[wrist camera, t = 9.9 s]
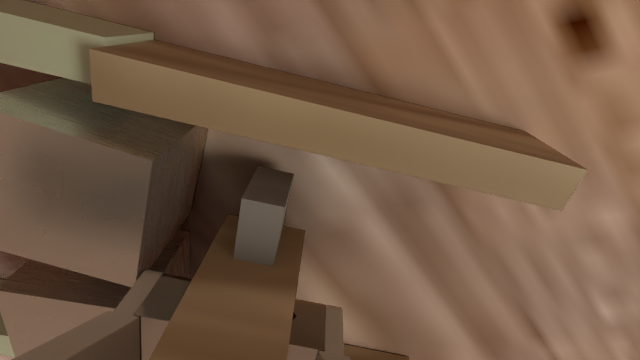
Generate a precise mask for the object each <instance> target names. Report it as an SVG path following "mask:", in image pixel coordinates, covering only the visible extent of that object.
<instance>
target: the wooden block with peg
mask: <svg viewBox="0 0 640 360" xmlns="http://www.w3.org/2000/svg"><path fill="white" fill-rule="evenodd" d="M293 176H294V174H292V173H287V172H283V171H278V170H274V169H269V168H264V167H260V166H258V167H257V169H256V171H255V173H254V175H253V177H252V179H251V181H250V183H249V185H248V187H247V189H246V191H245V193H244V194H243V196H242V199H241V206H240V213H239V217H238V216H233V215H227V217H226V218H225V220H224V222H223V224H222V226H221V228H220V229H219V231H218V233H217V235H216V237H215V239H214V240H213V242H212V244H211V246H210V248H209V250H208V252H207V253H206V255H205V257H204V259H203V261H202V263H201V264H200V266H199V268H198V270H197V272H196V274H195V275H194V277H193V279H192V281H191V283H190V285H189V286H188V288H187V290H186V292H185V294H184V296H183V298H182V299H181V301H180V303H179V305H178V307H177V309H176V310H175V312H174V314H173V316H172V318H171V320H170V321H169V323H168V325H167V327H166V329H165V331H164V333H163V334H162V336H161V338H160V340H159V342H158V344H157V345H156V347H155V349H154V351H153V353H152V355H151V356H150V358H149V360H287V354H288V347H289V340H290V333H291V326H292V319H293V312H294V305H295V298H296V291H297V284H298V277H299V270H300V263H301V256H302V249H303V242H304V234H305V230H301V229H296V228H291V227H286V226H283V224H284V219H285V215H286V210H287V205H288V200H289V195H290V190H291V185H292V181H293Z"/></svg>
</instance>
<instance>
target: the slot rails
mask: <svg viewBox="0 0 640 360" xmlns="http://www.w3.org/2000/svg"><path fill="white" fill-rule="evenodd" d="M89 55H90V71H91V87H92V101H94V102H98V103H102V104H106V105H111V106H115V107H119V108H124V109H128V110H132V111H136V112H141V113H145V114H149V115H153V116H158V117H162V118H166V119H171V120H175V121H179V122H183V123H188V124H192V125H196V126H200V127H205V128H209V129H213V130H218V131H222V132H226V133H230V134H235V135H239V136H243V137H247V138H252V139H256V140H260V141H265V142H269V143H273V144H277V145H282V146H286V147H290V148H294V149H299V150H303V151H307V152H312V153H316V154H320V155H324V156H329V157H333V158H337V159H342V160H346V161H350V162H354V163H359V164H363V165H367V166H371V167H376V168H380V169H384V170H389V171H393V172H397V173H401V174H406V175H410V176H414V177H418V178H423V179H427V180H431V181H436V182H440V183H444V184H448V185H453V186H457V187H461V188H465V189H470V190H474V191H478V192H483V193H487V194H491V195H495V196H500V197H504V198H508V199H513V200H517V201H521V202H525V203H530V204H534V205H538V206H542V207H547V208H551V209H555V210H560V211H562V210H563V208H564V207H565V205H566V204H567V202H568V201H569V199H570V197H571V196H572V194H573V193H574V191H575V190H576V188H577V186H578V185H579V183H580V182H581V180H582V179H583V177H584V176H585V174H586V172H587V171H588V170H587V169H585V168H584V167H582V166H581V165H579V164H577V163H576V162H574V161H573V160H571V159H569V158H568V157H566V156H564V155H563V154H561V153H560V152H558V151H556V150H555V149H553V148H552V147H550V146H548V145H547V144H545V143H544V142H542V141H540V140H539V139H537V138H535V137H534V136H532V135H531V134H529V133H527V132H525V131H520V130H516V129H512V128H508V127H504V126H500V125H496V124H492V123H488V122H484V121H480V120H476V119H472V118H468V117H464V116H460V115H456V114H452V113H448V112H444V111H440V110H436V109H432V108H428V107H424V106H420V105H416V104H411V103H407V102H403V101H399V100H395V99H391V98H387V97H383V96H379V95H375V94H371V93H367V92H363V91H359V90H355V89H351V88H347V87H343V86H339V85H335V84H331V83H327V82H323V81H319V80H315V79H311V78H306V77H302V76H298V75H294V74H290V73H286V72H282V71H278V70H274V69H270V68H266V67H262V66H258V65H254V64H250V63H246V62H242V61H238V60H234V59H230V58H226V57H222V56H218V55H214V54H210V53H206V52H202V51H197V50H193V49H189V48H185V47H181V46H177V45H173V44H169V43H165V42H161V41H157V40H148V41H141V42H134V43H126V44H119V45H112V46H105V47H98V48H91V49H89ZM344 355H345V356H349V357H350V359H351V360H409V357H406V356H401V355H396V354H391V353H386V352H381V351H376V350H371V349H366V348H361V347H356V346H351V345H346V344H344Z"/></svg>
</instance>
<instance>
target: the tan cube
mask: <svg viewBox="0 0 640 360" xmlns="http://www.w3.org/2000/svg"><path fill="white" fill-rule="evenodd" d="M207 131H208V128H205V127H200V126H196V125H192V124H188V123H183V122H179V121H175V120H171V119H166V118H162V117H158V116H153V115H149V114H145V113H141V112H136V111H132V110H128V109H124V108H119V107H115V106H111V105H106V104H102V103H98V102H94V101H92V87H91V84H88V83H84V82H80V81H76V80H71V79H67V78H59V79H55V80H50V81H46V82H42V83H38V84H33V85H29V86H25V87H21V88H16V89H12V90H8V91H4V92H0V251H3V252H6V253H10V254H13V255H17V256H21V257H24V258H28V259H31V260H35V261H39V262H42V263H46V264H49V265H53V266H57V267H60V268H64V269H67V270H71V271H75V272H78V273H82V274H85V275H89V276H93V277H96V278H100V279H103V280H107V281H111V282H114V283H118V284H121V285H125V286H128V287H132V286H133V285H134V283H135V282H136V281H137V279H138V278H139V277H140V275H141V274H142V273H143V272H144V271H146V270H147V269H148V270H149V268H150V267H151V265H152V264H153V263H154V261H155V260H156V259H157V257H158V256H159V255H160V253H161V252H162V250H163V249H164V248H165V246H166V245H167V244H168V242H169V241H170V240H171V238H172V237H173V235H174V234H175V233H176V231H177V230H178V229H179V227H180V226H181V225H182V223H183V222H184V220H185V219H186V218H187V216H188V215H189V214H190V212H191V208H192V203H193V198H194V194H195V189H196V184H197V179H198V174H199V169H200V165H201V160H202V155H203V150H204V145H205V141H206V136H207Z"/></svg>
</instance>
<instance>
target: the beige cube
mask: <svg viewBox="0 0 640 360" xmlns="http://www.w3.org/2000/svg"><path fill="white" fill-rule="evenodd" d="M149 270H153V271H157V272H162V273H168V274H172V275H177V276H181V277H186V278H190V232H188V231H182V230H177V231H176V233H175V234H174V235H173V237H172V238H171V240H170V241H169V242H168V244H167V245H166V246H165V248H164V249H163V250H162V252H161V253H160V255H159V256H158V257H157V259H156V260H155V261H154V263H153V264H152V265H151V267H150V268H149ZM130 289H131V287H128V286H125V285H121V284H118V283H114V282H111V281H107V280H103V279H100V278H96V277H93V276H89V275H85V274H82V273H78V272H75V271H71V270H67V269H64V268H60V267H57V266H53V265H49V264H46V263H42V262H39V261H35V260H29V261H28V262H27V263H26V264H24V265H23V266H22V267H21V268H19V269H18V270H17V271H16V272H14V273H13V274H12V275H11V276H9V277H8V278H7V279H6V280H4V281H3V282H2V283H1V284H0V313H1V316H2V319H3V322H4V325H5V328H6V331H7V334H8V337H9V340H10V343H11V346H12V349H13V352H14V355H15V358H16V357H18V356H20V355H22V354H24V353H26V352H28V351H30V350H32V349H34V348H36V347H38V346H40V345H42V344H44V343H46V342H48V341H49V340H51V339H53V338H55V337H57V336H59V335H61V334H63V333H65V332H67V331H69V330H71V329H73V328H75V327H77V326H79V325H81V324H83V323H85V322H87V321H89V320H91V319H93V318H95V317H97V316H99V315H101V314H103V313H105V312H106V311H111V312H113V311H114V310H115V309H116V307H117V306H118V305H119V303H120V302H121V301H122V299H123V298H124V297H125V295H126V294H127V293H128V291H129V290H130Z"/></svg>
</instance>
